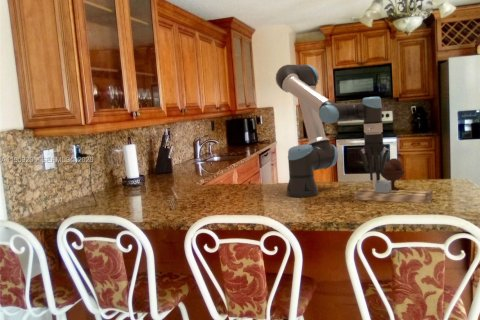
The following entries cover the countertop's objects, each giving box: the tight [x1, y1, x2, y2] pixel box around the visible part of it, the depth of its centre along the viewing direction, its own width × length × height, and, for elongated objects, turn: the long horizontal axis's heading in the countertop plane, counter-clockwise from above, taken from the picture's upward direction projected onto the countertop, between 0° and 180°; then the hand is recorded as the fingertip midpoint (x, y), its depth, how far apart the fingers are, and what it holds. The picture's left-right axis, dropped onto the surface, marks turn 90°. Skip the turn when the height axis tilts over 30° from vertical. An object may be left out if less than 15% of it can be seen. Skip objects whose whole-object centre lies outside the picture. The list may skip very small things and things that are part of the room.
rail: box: [354, 188, 434, 204], centre depth 174 cm, size 30×8×4 cm, turn 58°
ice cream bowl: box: [380, 158, 406, 191], centre depth 192 cm, size 11×11×15 cm
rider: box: [374, 179, 391, 193], centre depth 175 cm, size 5×7×6 cm
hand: (375, 188), depth 177 cm, fingers closed
